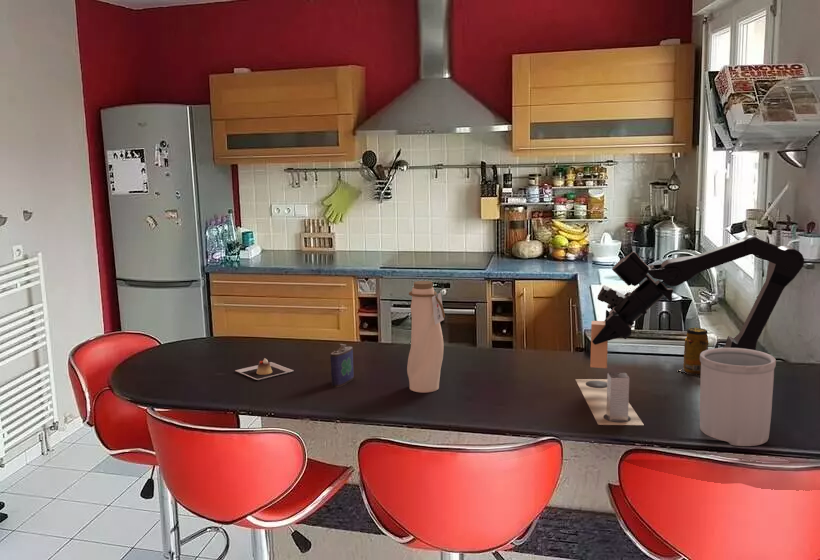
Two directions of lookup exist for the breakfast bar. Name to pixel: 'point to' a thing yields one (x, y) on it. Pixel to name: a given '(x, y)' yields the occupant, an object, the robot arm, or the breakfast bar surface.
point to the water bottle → (425, 338)
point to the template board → (603, 402)
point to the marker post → (598, 347)
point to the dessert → (265, 369)
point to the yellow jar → (694, 350)
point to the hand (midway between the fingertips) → (593, 340)
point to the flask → (342, 366)
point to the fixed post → (617, 396)
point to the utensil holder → (736, 395)
